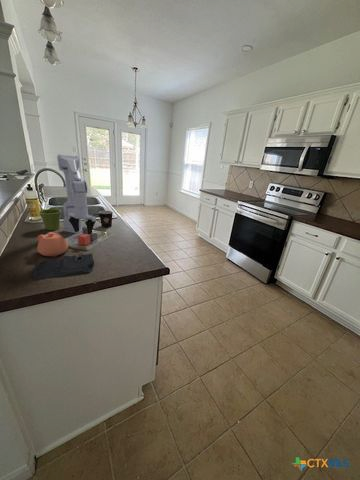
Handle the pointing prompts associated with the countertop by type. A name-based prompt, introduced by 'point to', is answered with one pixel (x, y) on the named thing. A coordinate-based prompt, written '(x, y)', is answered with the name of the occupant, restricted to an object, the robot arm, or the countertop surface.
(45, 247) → the sugar bowl
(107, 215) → the coffee mug
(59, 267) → the dark slate chunk
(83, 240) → the red cube
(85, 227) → the breaker
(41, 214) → the plant pot
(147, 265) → the countertop surface
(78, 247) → the breaker panel
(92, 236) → the block
